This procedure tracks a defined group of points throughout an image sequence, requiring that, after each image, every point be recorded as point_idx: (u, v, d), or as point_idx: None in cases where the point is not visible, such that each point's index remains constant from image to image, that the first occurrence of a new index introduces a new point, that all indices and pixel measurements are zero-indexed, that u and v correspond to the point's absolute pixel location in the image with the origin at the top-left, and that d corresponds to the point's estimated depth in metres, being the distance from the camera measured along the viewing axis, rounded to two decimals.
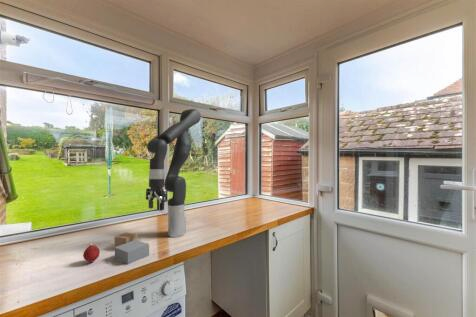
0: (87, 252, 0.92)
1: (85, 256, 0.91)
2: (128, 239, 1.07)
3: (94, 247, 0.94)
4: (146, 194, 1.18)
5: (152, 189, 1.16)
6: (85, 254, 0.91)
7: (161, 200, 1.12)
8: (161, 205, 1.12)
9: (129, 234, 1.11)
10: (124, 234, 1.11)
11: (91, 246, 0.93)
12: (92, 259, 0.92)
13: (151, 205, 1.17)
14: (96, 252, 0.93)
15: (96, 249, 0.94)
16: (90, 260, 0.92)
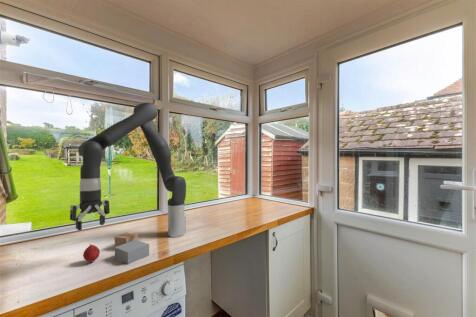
0: (87, 252, 0.92)
1: (85, 256, 0.91)
2: (128, 239, 1.07)
3: (94, 247, 0.94)
4: (74, 213, 0.88)
5: (87, 204, 0.92)
6: (85, 254, 0.91)
7: (104, 212, 0.98)
8: (104, 218, 0.98)
9: (129, 234, 1.11)
10: (124, 234, 1.11)
11: (91, 246, 0.93)
12: (92, 259, 0.92)
13: None
14: (96, 252, 0.93)
15: (96, 249, 0.94)
16: (90, 260, 0.92)
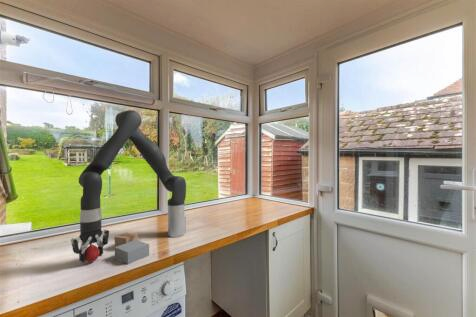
0: (87, 252, 0.92)
1: (85, 256, 0.91)
2: (128, 239, 1.07)
3: (94, 247, 0.94)
4: (76, 247, 0.88)
5: (87, 235, 0.92)
6: (85, 254, 0.91)
7: (102, 244, 0.97)
8: (102, 249, 0.97)
9: (129, 234, 1.11)
10: (124, 234, 1.11)
11: (91, 246, 0.93)
12: (92, 259, 0.92)
13: None
14: (96, 252, 0.93)
15: (96, 249, 0.94)
16: (90, 260, 0.92)
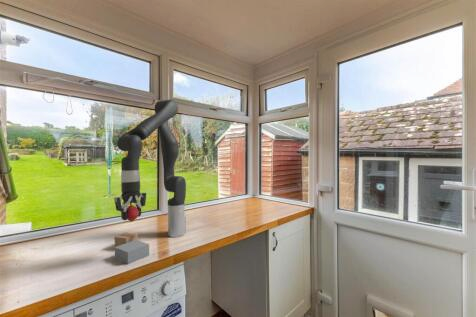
0: (129, 210, 0.96)
1: None
2: (128, 239, 1.07)
3: (134, 207, 0.98)
4: (119, 205, 0.93)
5: (128, 194, 0.97)
6: None
7: (140, 205, 1.02)
8: (140, 210, 1.02)
9: (129, 234, 1.11)
10: (124, 234, 1.11)
11: (131, 206, 0.98)
12: (133, 218, 0.97)
13: None
14: (136, 211, 0.98)
15: (136, 209, 0.99)
16: (131, 218, 0.97)
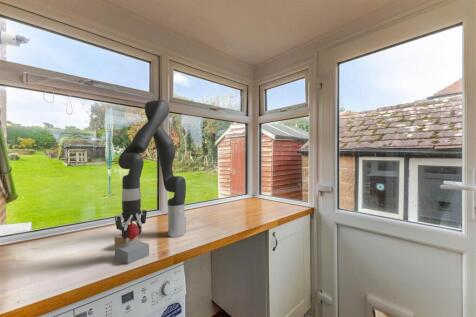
0: (129, 229, 0.96)
1: (127, 233, 0.96)
2: (128, 239, 1.07)
3: (134, 225, 0.98)
4: (119, 224, 0.93)
5: (129, 213, 0.97)
6: (127, 231, 0.96)
7: (141, 222, 1.02)
8: (140, 228, 1.02)
9: None
10: None
11: (132, 224, 0.98)
12: (133, 236, 0.97)
13: None
14: (136, 230, 0.98)
15: (136, 227, 0.98)
16: (131, 237, 0.97)
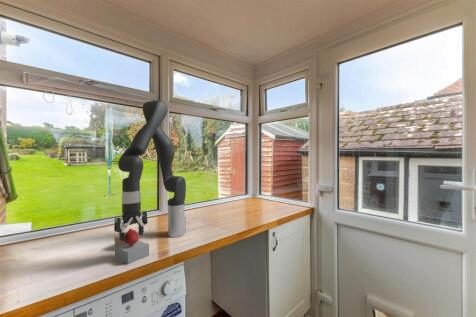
0: (128, 235, 0.96)
1: (126, 239, 0.96)
2: None
3: (134, 231, 0.98)
4: (118, 225, 0.93)
5: (129, 215, 0.97)
6: (126, 238, 0.96)
7: (142, 223, 1.02)
8: (142, 228, 1.02)
9: None
10: None
11: (131, 230, 0.98)
12: (133, 242, 0.97)
13: None
14: (136, 236, 0.98)
15: (136, 233, 0.98)
16: (131, 243, 0.97)
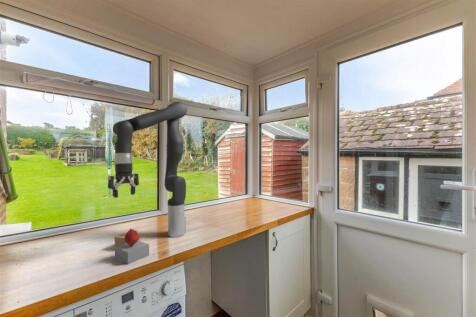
0: (129, 235, 0.96)
1: (127, 239, 0.96)
2: None
3: (134, 231, 0.98)
4: (111, 182, 1.01)
5: (121, 175, 1.05)
6: (127, 237, 0.96)
7: (134, 184, 1.11)
8: (134, 189, 1.11)
9: None
10: (124, 234, 1.11)
11: (132, 230, 0.98)
12: (133, 242, 0.97)
13: None
14: (136, 236, 0.98)
15: (136, 233, 0.98)
16: (131, 243, 0.97)
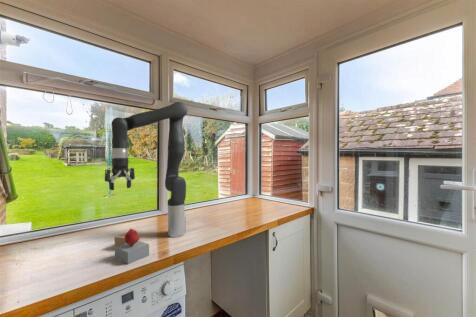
0: (129, 235, 0.96)
1: (127, 239, 0.96)
2: None
3: (134, 231, 0.98)
4: (108, 176, 1.08)
5: (117, 169, 1.12)
6: (127, 237, 0.96)
7: (130, 178, 1.18)
8: (130, 183, 1.18)
9: None
10: (124, 234, 1.11)
11: (132, 230, 0.98)
12: (133, 242, 0.97)
13: None
14: (136, 236, 0.98)
15: (136, 233, 0.98)
16: (131, 243, 0.97)
